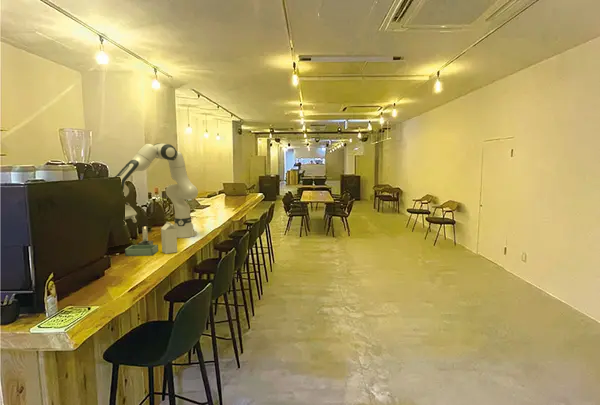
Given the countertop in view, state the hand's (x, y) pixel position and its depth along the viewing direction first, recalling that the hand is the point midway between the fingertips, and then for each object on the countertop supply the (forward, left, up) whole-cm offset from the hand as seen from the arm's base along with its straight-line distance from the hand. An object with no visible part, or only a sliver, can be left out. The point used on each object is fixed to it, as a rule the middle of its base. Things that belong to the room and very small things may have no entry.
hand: (130, 223), depth 237 cm
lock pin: (+3, +10, -17) cm, 20 cm away
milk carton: (+10, +27, -17) cm, 33 cm away
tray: (+13, +11, -17) cm, 23 cm away
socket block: (+3, +10, -17) cm, 20 cm away
